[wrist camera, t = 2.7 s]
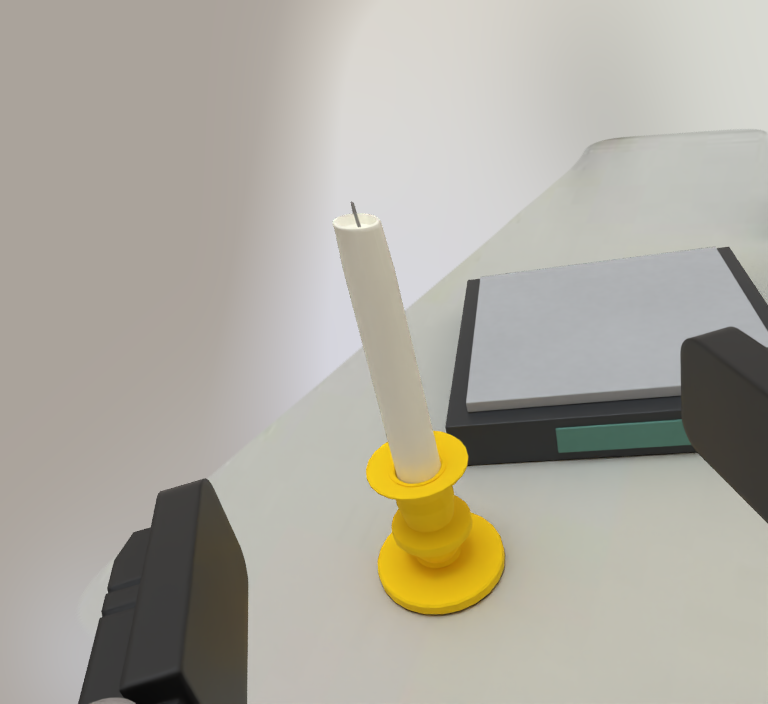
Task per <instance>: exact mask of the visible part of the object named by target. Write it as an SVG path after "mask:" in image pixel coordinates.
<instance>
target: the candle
mask: <svg viewBox="0 0 768 704" xmlns="http://www.w3.org/2000/svg"><path fill="white" fill-rule="evenodd" d="M351 206H352V211H353V214H348V215H343V216H340V217H337V218H336V219H334V220H333V226H334V229H335V234H336V239H337V243H338V248H339V252H340V257H341V262H342V267H343V271H344V274H345V279H346V282H347V286H348V290H349V294H350V298H351V301H352V305H353V309H354V313H355V317H356V321H357V324H358V328H359V332H360V336H361V340H362V343H363V347H364V351H365V355H366V359H367V363H368V367H369V370H370V374H371V378H372V382H373V386H374V390H375V393H376V397H377V401H378V405H379V409H380V413H381V416H382V420H383V424H384V428H385V432H386V436H387V439H388V442H387V443H385V444H383V445H382V446H381V447H380V448H379V449H378V450H376V451H375V452H374V454H373V455H372V457H371V458H370V460H369V462H368V465H367V468H366V475H367V480H368V482H369V484H370V486H371V488H373V489H374V490H375V491H376V492H377V493H378V494H380V495H382V496H385V497H387V498H389V499H395V500H396V503H397V506H398V508H399V509H398V510H397V512H396V514H395V515H394V517H393V521H392V533H391V534H390V535H389V536H388V537H387V539H386V541H385V542H384V544H383V546H382V548H381V550H380V554H379V558H378V574H379V577H380V580H381V582H382V585H383V587H384V589H385V592H386V593H387V594H388V595H389V596H390V597H391V598H392V599H393V600H394V602H396V603H397V604H399V605H401V606H402V607H404V608H406V609H408V610H411V611H415V612H418V613H422V614H446V613H451V612H456V611H460V610H462V609H465V608H467V607H469V606H471V605H473V604H476V603H477V602H478V601H480V600H481V599H482V598H484V597H485V596H486V595H487V594H489V593H490V592H491V590H492V589H493V588H494V586H495V585H496V584H497V583H498V581H499V579H500V577H501V574H502V572H503V569H504V560H505V553H504V547H503V544H502V541H501V537H500V535H499V534H498V532H497V531H496V529H495V528H494V527H493V525H492V524H490V523H489V522H488V521H486V520H485V519H484V518H482V517H480V516H478V515H476V514H473V513H471V512H470V509H469V507H468V506H467V504H466V503H465V502H464V501H463V500H462V499H460V498H459V497H457V496H455V495H454V491H453V487H452V485H454V484H455V483H456V482H457V481H458V480H459V479H460V478H461V477H462V476H463V474H464V472H465V470H466V468H467V464H468V454H467V450H466V447H465V446H464V445H463V443H462V442H461V441H460V440H459V439H457V438H456V437H454V436H452V435H450V434H447V433H444V432H439V431H433V429H432V425H431V420H430V416H429V412H428V408H427V404H426V399H425V395H424V391H423V387H422V383H421V378H420V374H419V370H418V366H417V362H416V357H415V353H414V349H413V345H412V341H411V336H410V332H409V328H408V324H407V320H406V315H405V311H404V307H403V303H402V299H401V295H400V290H399V286H398V282H397V278H396V273H395V270H394V266H393V262H392V259H391V255H390V252H389V248H388V245H387V242H386V238H385V235H384V231H383V228H382V224H381V221H380V220H379V218H377V217H376V216H374V215H370V214H364V213H357V212H356V209H355V206H354V203H353V202H351Z"/></svg>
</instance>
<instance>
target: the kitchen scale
mask: <svg viewBox="0 0 768 704" xmlns="http://www.w3.org/2000/svg"><path fill="white" fill-rule="evenodd" d="M729 326H733V327H736V328H738V329H740V330H741V331H743V332H744V333H746V334H747V335H749V336H750V337H752V338H753V339H755V340H756V341H758V342H759V343H761V344H762V345H764V346H765V347H768V305H767V303H766V302H765V300H764V299H763V297H762V296H761V294H760V293H759V291H758V290H757V288H756V287H755V285H754V284H753V282H752V281H751V279H750V278H749V276H748V275H747V273H746V272H745V270H744V269H743V267H742V266H741V264H740V263H739V261H738V260H737V258H736V257H735V255H734V254H733V252H732V251H731V249H730V248H729V247H724V248H716V247H707V248H699V249H692V250H684V251H676V252H669V253H661V254H653V255H645V256H638V257H630V258H622V259H614V260H607V261H599V262H591V263H583V264H576V265H568V266H560V267H553V268H545V269H537V270H529V271H522V272H514V273H506V274H498V275H491V276H483V277H481V278H480V279H475V280H468V282H467V288H466V295H465V301H464V308H463V315H462V321H461V328H460V335H459V341H458V348H457V354H456V361H455V368H454V374H453V381H452V387H451V394H450V401H449V407H448V414H447V421H446V427H445V428H446V432H447V434H450V435H452V436H454V437H456V438H457V439H459V440H460V441H461V442H462V443H463V445H464V446H465V447H466V450H467V454H468V464H467V465H477V464H494V463H512V462H529V461H546V460H563V459H581V458H598V457H615V456H632V455H649V454H667V453H684V452H697V451H696V450H695V449H694V448H693V446H692V445H691V443H690V441H689V439H688V437H687V435H686V433H685V430H684V427H683V423H682V416H681V363H680V351H681V346H682V343H683V342H684V340H686V339H688V338H692V337H695V336H698V335H702V334H705V333H709V332H712V331H715V330H719V329H722V328H726V327H729Z"/></svg>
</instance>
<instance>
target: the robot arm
mask: <svg viewBox="0 0 768 704" xmlns="http://www.w3.org/2000/svg"><path fill="white" fill-rule="evenodd" d="M680 363H681V416H682V423H683V427H684V430H685V433H686V435H687V437H688V439H689V441H690V443H691V445H692V446H693V448H694V449H695V450H696V451H697V452H698V454H699V455H700V456H701V457H702V458H703V459H704V460H705V461H706V462H707V463H708V464H709V465H710V466H711V467H712V468H713V469H714V470H715V471H716V472H717V473H718V474H719V475H720V476H721V477H722V478H723V479H724V480H725V481H726V482H727V483H728V484H729V485H730V486H731V487H732V488H733V489H734V490H735V491H736V492H737V493H738V494H739V495H740V496H741V497H742V498H743V499H744V500H745V501H746V502H747V503H748V504H749V505H750V506H751V507H752V508H753V509H754V510H755V511H756V512H757V513H758V514H759V515H760V516H761V517H762V518H763V519H764V520H765V521H766V522H767V523H768V347H765V346H764V345H762V344H761V343H759V342H758V341H756V340H755V339H753V338H752V337H750V336H749V335H747V334H746V333H744V332H743V331H741V330H740V329H738V328H736V327H733V326H729V327H726V328H722V329H719V330H715V331H712V332H709V333H705V334H702V335H698V336H695V337H692V338H688V339H686V340H684V342H683V343H682V346H681V351H680ZM107 589H108V594H106V596H105V600H104V603H103V607H102V611H101V612H102V618H100V619H99V623H98V627H97V631H96V635H95V639H94V643H93V647H92V651H91V655H90V659H89V663H88V667H87V671H86V675H85V679H84V683H83V687H82V691H81V695H80V699H79V702H78V704H247V656H248V576H247V569H246V564H245V560H244V556H243V553H242V550H241V547H240V545H239V543H238V541H237V538H236V536H235V534H234V532H233V530H232V527H231V525H230V523H229V521H228V519H227V516H226V514H225V512H224V510H223V508H222V506H221V503H220V501H219V499H218V497H217V495H216V492H215V490H214V488H213V486H212V484H211V483H210V482H209V480H207V479H202V480H198V481H195V482H191V483H188V484H184V485H181V486H178V487H174V488H171V489H167V490H164V491H160V493H159V494H158V496H157V499H156V505H155V509H154V515H153V519H152V525H151V527H150V528H147V529H144V530H140V531H137V532H134V533H133V534H132V535H131V537H130V539H129V540H128V541H127V543H126V544H125V546H124V547H123V549H122V550H121V551H120V553H119V554H118V556H117V557H116V559H115V560H114V564H113V568H112V572H111V576H110V580H109V584H108V588H107Z"/></svg>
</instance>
